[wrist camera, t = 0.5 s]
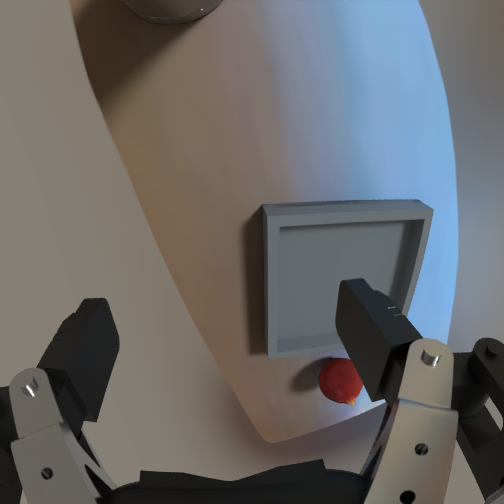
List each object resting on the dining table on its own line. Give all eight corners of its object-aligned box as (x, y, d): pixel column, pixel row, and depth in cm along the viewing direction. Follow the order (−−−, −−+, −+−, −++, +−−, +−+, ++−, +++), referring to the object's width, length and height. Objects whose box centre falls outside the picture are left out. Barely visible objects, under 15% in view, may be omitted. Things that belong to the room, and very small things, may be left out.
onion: (315, 377, 40) (329, 422, 33) (310, 353, 38) (326, 401, 31) (353, 365, 40) (372, 408, 33) (352, 339, 37) (374, 385, 30)
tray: (262, 204, 28) (267, 216, 25) (417, 199, 29) (433, 209, 26) (264, 341, 36) (268, 359, 33) (390, 322, 37) (399, 336, 34)
